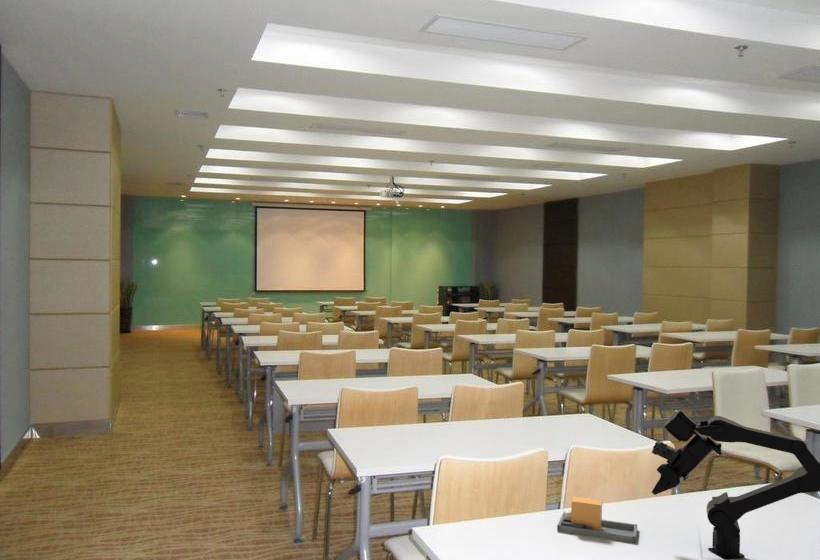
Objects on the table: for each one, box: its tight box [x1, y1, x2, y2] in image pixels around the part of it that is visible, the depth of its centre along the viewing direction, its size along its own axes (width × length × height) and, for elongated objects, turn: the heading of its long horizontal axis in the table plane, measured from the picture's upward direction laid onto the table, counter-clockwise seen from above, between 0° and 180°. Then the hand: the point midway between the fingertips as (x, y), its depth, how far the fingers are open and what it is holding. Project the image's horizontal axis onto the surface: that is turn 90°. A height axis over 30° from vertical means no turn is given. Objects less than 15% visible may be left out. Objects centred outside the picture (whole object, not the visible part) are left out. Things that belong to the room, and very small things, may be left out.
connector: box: [562, 496, 603, 531], centre depth 190 cm, size 10×4×8 cm, turn 69°
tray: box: [556, 513, 638, 544], centre depth 188 cm, size 21×10×3 cm, turn 69°
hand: (653, 493), depth 183 cm, fingers closed
